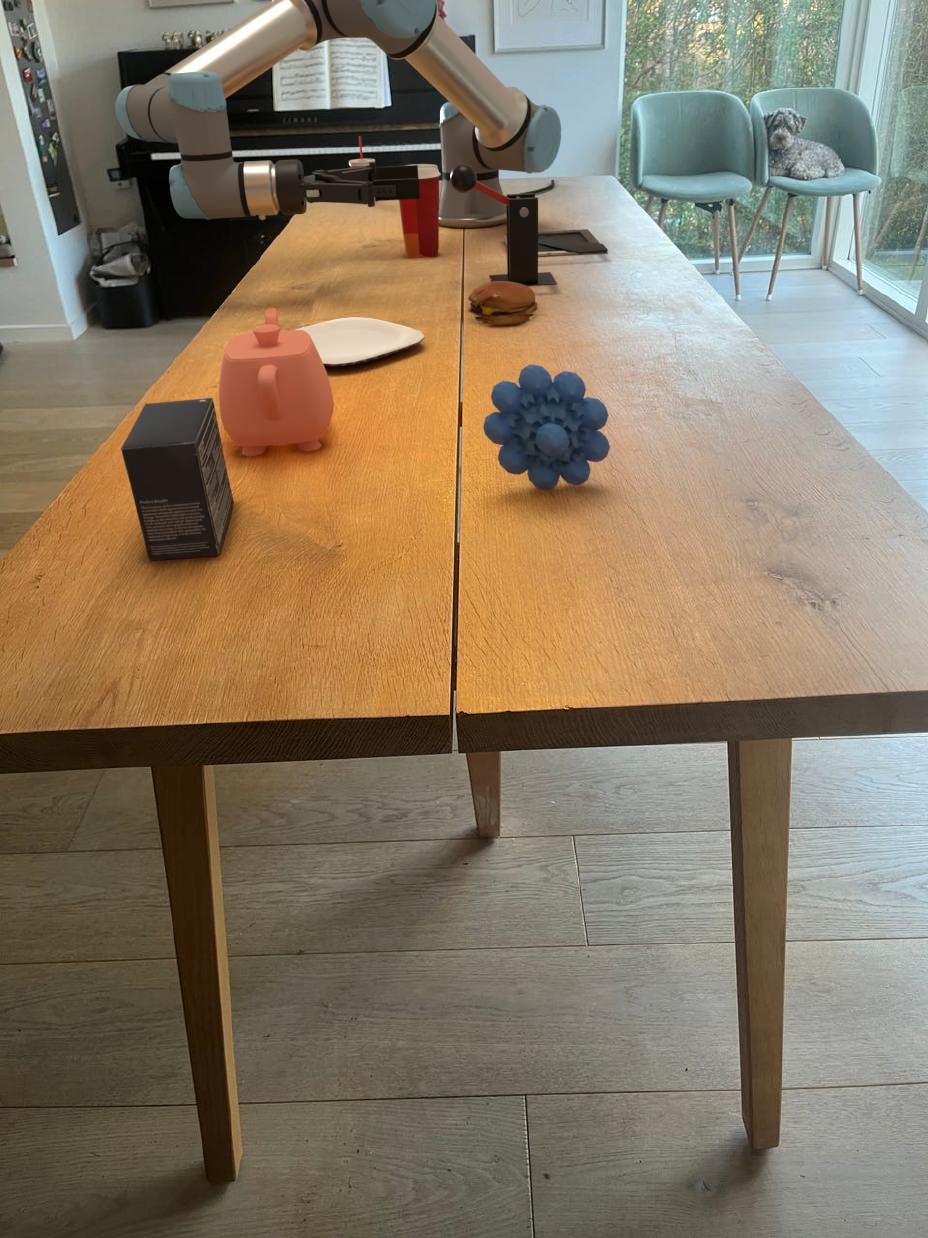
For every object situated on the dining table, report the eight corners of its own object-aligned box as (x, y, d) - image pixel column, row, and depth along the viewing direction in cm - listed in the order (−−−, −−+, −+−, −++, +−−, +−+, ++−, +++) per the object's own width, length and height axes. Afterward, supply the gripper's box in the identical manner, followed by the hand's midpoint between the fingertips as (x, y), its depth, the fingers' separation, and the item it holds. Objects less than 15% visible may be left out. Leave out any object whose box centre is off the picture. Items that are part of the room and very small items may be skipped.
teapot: (339, 467, 99) (326, 348, 93) (220, 477, 98) (198, 358, 92) (334, 400, 116) (323, 296, 110) (232, 409, 115) (214, 304, 108)
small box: (165, 508, 92) (141, 400, 87) (235, 503, 93) (216, 395, 87) (143, 562, 83) (115, 445, 78) (221, 556, 84) (199, 439, 78)
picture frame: (607, 261, 172) (587, 237, 189) (608, 249, 171) (587, 226, 188) (516, 266, 171) (504, 241, 189) (516, 254, 170) (504, 230, 188)
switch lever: (446, 187, 147) (458, 160, 145) (445, 183, 151) (456, 157, 149) (525, 227, 151) (537, 202, 149) (522, 222, 154) (534, 198, 152)
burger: (531, 306, 148) (530, 274, 145) (541, 324, 140) (541, 290, 138) (465, 311, 147) (464, 279, 145) (472, 328, 140) (470, 295, 137)
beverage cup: (352, 200, 237) (346, 135, 229) (377, 198, 237) (372, 134, 230) (352, 204, 231) (346, 138, 224) (378, 202, 232) (373, 137, 224)
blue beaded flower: (490, 513, 89) (486, 384, 82) (482, 482, 95) (478, 359, 88) (617, 504, 89) (624, 375, 83) (602, 474, 95) (607, 351, 89)
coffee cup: (446, 250, 184) (442, 162, 177) (441, 259, 178) (437, 169, 170) (402, 250, 185) (396, 163, 177) (395, 260, 178) (389, 170, 170)
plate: (356, 323, 144) (355, 311, 143) (441, 346, 133) (440, 333, 132) (252, 353, 133) (250, 340, 132) (335, 380, 122) (333, 367, 121)
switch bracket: (493, 296, 154) (491, 202, 147) (489, 284, 161) (487, 193, 154) (556, 293, 154) (558, 198, 147) (550, 281, 161) (551, 190, 154)
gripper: (289, 200, 160) (419, 194, 161) (271, 230, 139) (421, 222, 140) (282, 150, 156) (416, 143, 157) (263, 172, 135) (418, 165, 136)
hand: (419, 181), depth 148 cm, fingers open, 13 cm apart
